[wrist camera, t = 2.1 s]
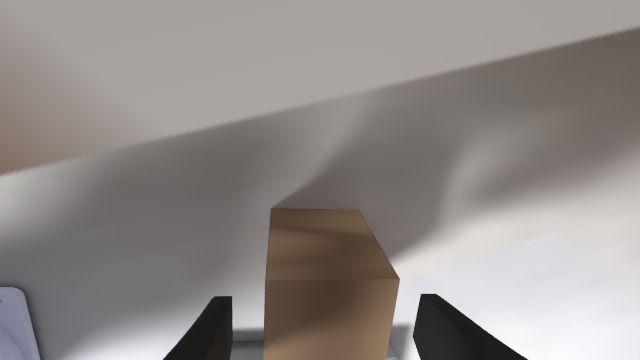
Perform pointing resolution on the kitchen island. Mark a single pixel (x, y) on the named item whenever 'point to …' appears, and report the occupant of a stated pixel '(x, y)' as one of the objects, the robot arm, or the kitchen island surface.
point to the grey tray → (251, 353)
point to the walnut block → (326, 288)
